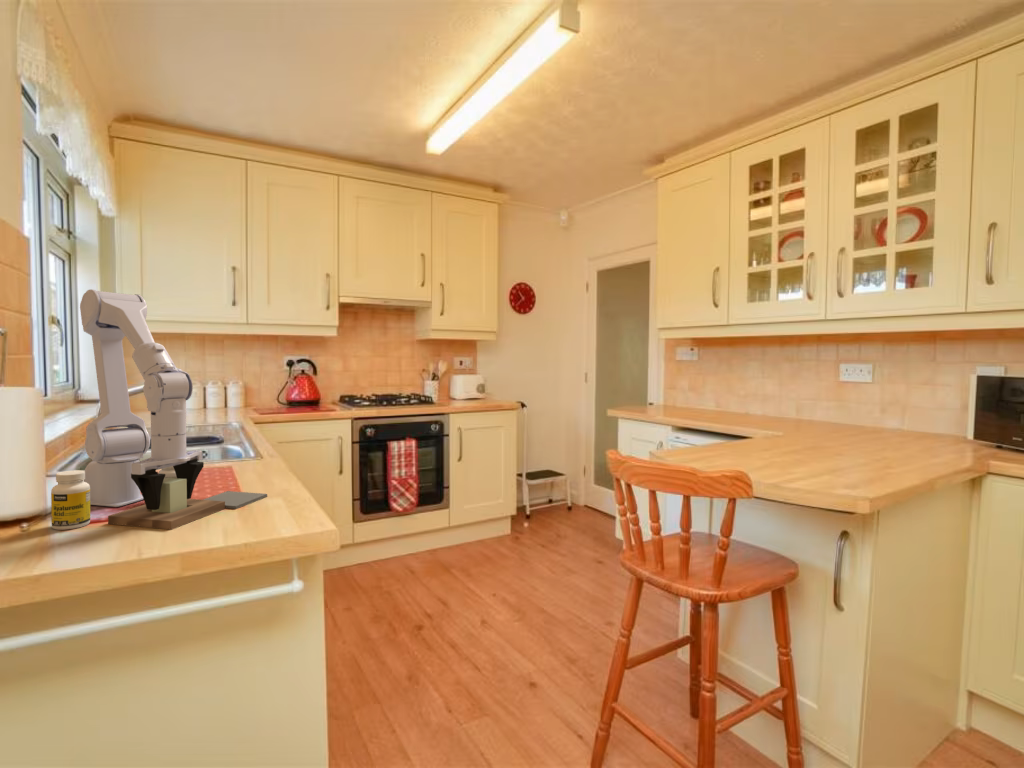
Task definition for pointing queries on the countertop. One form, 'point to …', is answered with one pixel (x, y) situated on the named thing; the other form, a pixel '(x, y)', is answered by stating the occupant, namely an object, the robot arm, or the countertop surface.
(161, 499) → the sage block
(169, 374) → the robot arm
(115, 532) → the countertop surface
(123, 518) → the walnut holder
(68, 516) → the supplement bottle
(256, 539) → the countertop surface
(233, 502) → the charcoal mat
